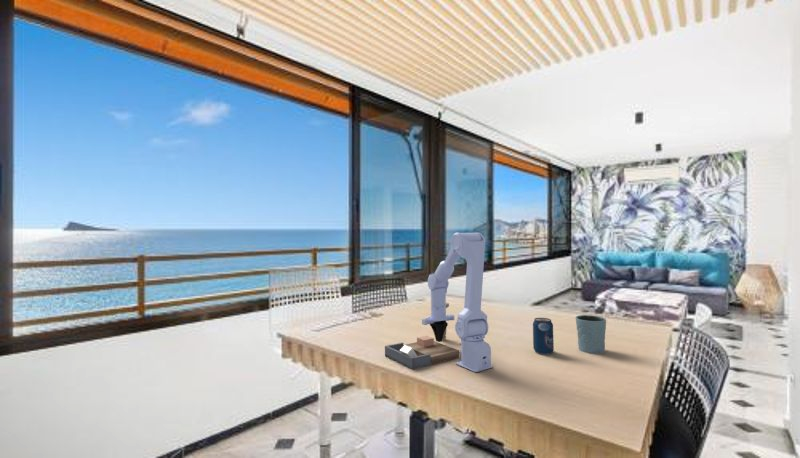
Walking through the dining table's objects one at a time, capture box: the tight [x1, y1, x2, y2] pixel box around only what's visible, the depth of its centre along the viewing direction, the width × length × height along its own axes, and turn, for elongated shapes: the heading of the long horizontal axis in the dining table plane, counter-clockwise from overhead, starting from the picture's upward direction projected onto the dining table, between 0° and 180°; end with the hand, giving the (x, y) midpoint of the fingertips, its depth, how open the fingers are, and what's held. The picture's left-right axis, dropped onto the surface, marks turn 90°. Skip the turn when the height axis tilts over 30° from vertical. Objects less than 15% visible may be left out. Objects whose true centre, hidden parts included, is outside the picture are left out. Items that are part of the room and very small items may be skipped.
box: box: [384, 342, 433, 370], centre depth 126 cm, size 17×8×4 cm, turn 33°
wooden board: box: [405, 340, 460, 365], centre depth 132 cm, size 17×12×2 cm
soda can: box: [532, 317, 555, 356], centre depth 133 cm, size 7×7×12 cm
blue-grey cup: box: [575, 314, 607, 355], centre depth 134 cm, size 10×10×12 cm
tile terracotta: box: [416, 335, 435, 347], centre depth 136 cm, size 4×4×2 cm
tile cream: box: [400, 344, 417, 357], centre depth 123 cm, size 4×4×2 cm
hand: (438, 341), depth 139 cm, fingers closed
